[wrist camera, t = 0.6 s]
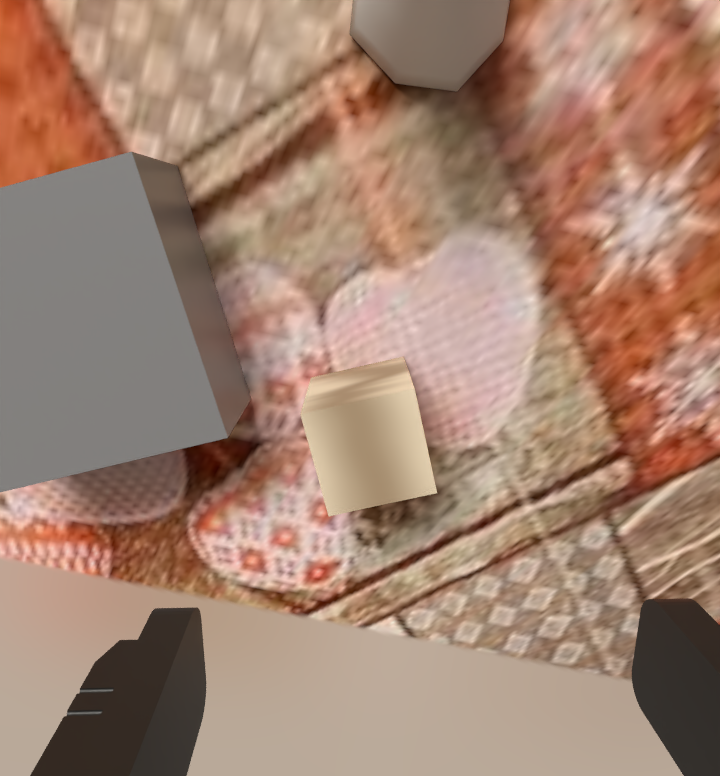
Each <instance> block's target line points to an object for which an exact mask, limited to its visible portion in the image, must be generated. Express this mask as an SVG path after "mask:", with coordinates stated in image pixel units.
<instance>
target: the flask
mask: <svg viewBox="0 0 720 776" xmlns="http://www.w3.org/2000/svg"><path fill="white" fill-rule="evenodd" d="M509 3H510V0H353V4H352V14H351V24H350V35H351V36H352V37H353V39H354V40H355V41H356V42H357V43H358V44H359V45H360V46H361V47H362V48H363V49H364V50H365V51H366V53H367V54H368V55H369V56H370V57H371V58H372V59H373V60H374V61H375V62H376V63H377V64H378V65H379V67H380V68H381V69H382V70H383V71H384V72H385V73H386V74H387V75H388V76H389V77H390V78H391V80H392V81H393V82H394V83H396V84H404V85H411V86H419V87H426V88H434V89H441V90H449V91H456V92H457V91H458V90H459V89H460V88H461V87H462V86H463V84H464V83H465V82H466V81H467V80H468V79H469V78H470V77H471V76H472V74H473V73H474V72H475V71H476V70H477V69H478V68H479V67H480V66H481V65H482V63H483V62H484V61H485V60H486V59H487V58H488V57H489V56H490V55H491V54H492V52H493V51H494V50H495V49H496V48H497V47H498V46H499V45H500V44H501V43H502V41H503V39H504V33H505V27H506V21H507V15H508V9H509Z"/></svg>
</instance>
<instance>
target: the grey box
mask: <svg viewBox="0 0 720 776" xmlns="http://www.w3.org/2000/svg"><path fill="white" fill-rule="evenodd" d="M250 400H251V397H250V393H249V390H248V387H247V384H246V381H245V378H244V375H243V371H242V368H241V365H240V362H239V359H238V356H237V353H236V349H235V346H234V343H233V340H232V337H231V334H230V331H229V327H228V324H227V321H226V318H225V315H224V312H223V308H222V305H221V302H220V299H219V296H218V293H217V290H216V286H215V283H214V280H213V277H212V274H211V271H210V268H209V264H208V261H207V258H206V255H205V252H204V249H203V246H202V242H201V239H200V236H199V233H198V230H197V227H196V224H195V220H194V217H193V214H192V211H191V208H190V205H189V201H188V198H187V195H186V192H185V189H184V186H183V183H182V179H181V176H180V173H179V170H178V167H177V166H176V165H173V164H169V163H166V162H163V161H160V160H157V159H153V158H150V157H147V156H144V155H140V154H137V153H134V152H129V153H125V154H122V155H118V156H115V157H111V158H107V159H104V160H100V161H96V162H93V163H89V164H85V165H82V166H78V167H75V168H71V169H67V170H64V171H60V172H56V173H53V174H49V175H46V176H42V177H38V178H35V179H31V180H27V181H24V182H20V183H16V184H13V185H9V186H6V187H2V188H0V492H3V491H8V490H12V489H16V488H20V487H24V486H28V485H33V484H37V483H41V482H45V481H49V480H54V479H58V478H62V477H66V476H70V475H74V474H79V473H83V472H87V471H91V470H95V469H100V468H104V467H108V466H112V465H116V464H121V463H125V462H129V461H133V460H137V459H141V458H146V457H150V456H154V455H158V454H162V453H167V452H171V451H175V450H179V449H183V448H187V447H192V446H196V445H200V444H204V443H208V442H213V441H217V440H221V439H225V438H228V437H229V435H230V434H231V432H232V430H233V429H234V427H235V425H236V423H237V422H238V420H239V418H240V417H241V415H242V413H243V412H244V410H245V408H246V407H247V405H248V403H249V402H250Z"/></svg>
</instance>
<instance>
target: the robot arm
mask: <svg viewBox="0 0 720 776" xmlns="http://www.w3.org/2000/svg"><path fill="white" fill-rule="evenodd" d="M632 683H633V688H634V692H635V696H636V699H637V701H638V704H639V706H640V708H641V710H642V711H643V713H644V714H645V716H646V718H647V719H648V721H649V722H650V724H651V725H652V727H653V729H654V730H655V731H656V733H657V734H658V736H659V738H660V739H661V741H662V742H663V744H664V746H665V747H666V749H667V750H668V752H669V753H670V755H671V756H672V758H673V760H674V761H675V763H676V764H677V766H678V767H679V769H680V770H681V772H682V774H683V775H684V776H720V625H719V624H718V623H717V622H716V621H715V620H714V619H713V618H712V617H711V616H710V615H709V614H708V613H707V612H706V611H705V610H704V609H703V608H702V607H701V606H700V605H699V604H698V603H697V602H696V601H694V600H692V599H648V600H646V601H645V602H644V603H643V605H642V608H641V612H640V619H639V626H638V632H637V639H636V646H635V653H634V659H633V666H632ZM205 697H206V673H205V662H204V649H203V636H202V624H201V615H200V611H199V609H198V608H159V609H158V608H157V609H154V610H153V611H152V613H151V614H150V616H149V618H148V621H147V623H146V625H145V627H144V629H143V631H142V633H141V635H140V637H139V639H138V640H120V641H118V643H116V644H115V645H114V646H113V647H112V648H111V649H110V650H108V651H107V652H106V653H105V654H104V655H103V656H102V657H101V658H99V659H98V660H97V661H96V662H95V663H94V665H93V667H92V669H91V671H90V672H89V674H88V676H87V677H86V679H85V681H84V683H83V685H82V686H81V688H80V693H79V694H77V695H76V697H75V699H74V700H73V702H72V704H71V705H70V707H69V709H68V711H67V716H65V717H64V718H63V719H62V721H61V723H60V725H59V726H58V728H57V730H56V732H55V734H54V735H53V737H52V739H51V740H50V742H49V744H48V746H47V747H46V749H45V751H44V753H43V754H42V756H41V758H40V760H39V761H38V763H37V765H36V767H35V768H34V770H33V772H32V774H31V775H30V776H186V775H187V772H188V768H189V764H190V761H191V757H192V754H193V750H194V747H195V743H196V740H197V736H198V733H199V729H200V726H201V722H202V718H203V712H204V706H205Z"/></svg>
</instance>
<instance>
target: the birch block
mask: <svg viewBox="0 0 720 776" xmlns="http://www.w3.org/2000/svg"><path fill="white" fill-rule="evenodd" d="M300 415H301V418H302V422H303V426H304V429H305V433H306V436H307V440H308V444H309V447H310V451H311V454H312V458H313V462H314V465H315V469H316V472H317V476H318V480H319V483H320V487H321V490H322V494H323V498H324V501H325V505H326V508H327V512H328V516H332V515H337V514H341V513H346V512H351V511H355V510H360V509H365V508H370V507H374V506H379V505H384V504H388V503H393V502H398V501H402V500H407V499H412V498H417V497H421V496H426V495H431V494H435V493H437V490H436V486H435V481H434V476H433V472H432V467H431V462H430V458H429V453H428V448H427V444H426V439H425V434H424V430H423V425H422V421H421V416H420V411H419V407H418V402H417V397H416V393H415V388H414V385H413V382H412V380H411V377H410V374H409V371H408V368H407V365H406V362H405V359H404V357H400V358H395V359H391V360H387V361H382V362H378V363H374V364H369V365H365V366H360V367H356V368H352V369H347V370H343V371H338V372H334V373H330V374H325V375H321V376H316V377H312V378H311V380H310V383H309V387H308V390H307V393H306V397H305V400H304V404H303V407H302V411H301V414H300Z"/></svg>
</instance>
